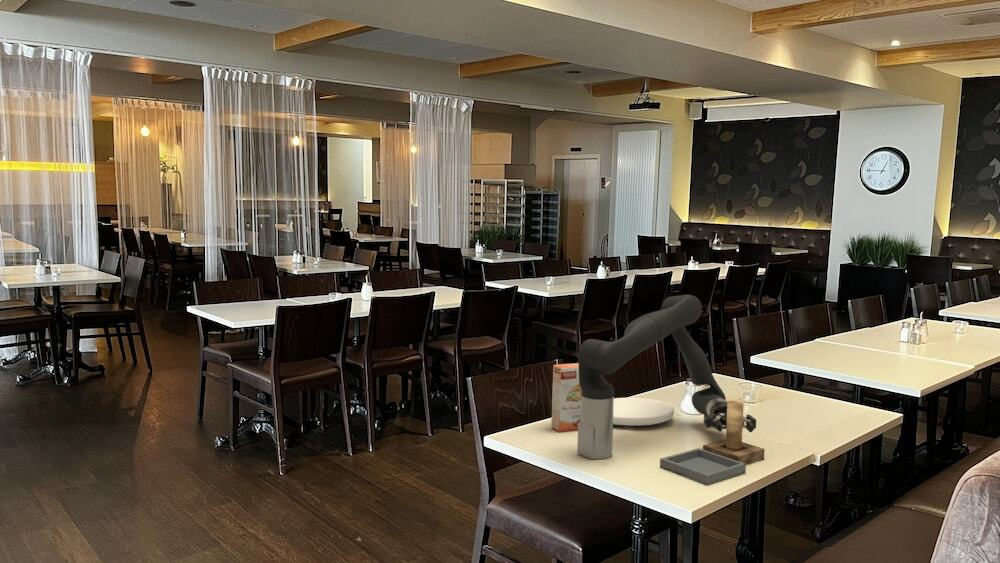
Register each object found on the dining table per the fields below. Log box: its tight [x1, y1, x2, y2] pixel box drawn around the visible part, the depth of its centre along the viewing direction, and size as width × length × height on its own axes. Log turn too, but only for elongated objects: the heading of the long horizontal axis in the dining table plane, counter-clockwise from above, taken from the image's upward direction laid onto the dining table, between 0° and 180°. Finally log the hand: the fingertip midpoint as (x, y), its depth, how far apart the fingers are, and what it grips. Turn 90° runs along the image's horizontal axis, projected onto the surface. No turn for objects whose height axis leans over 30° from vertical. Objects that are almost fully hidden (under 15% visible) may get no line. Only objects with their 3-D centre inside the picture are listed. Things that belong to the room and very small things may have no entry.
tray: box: [659, 447, 747, 486], centre depth 202 cm, size 16×16×2 cm
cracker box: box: [551, 362, 581, 433], centre depth 239 cm, size 14×6×21 cm, turn 114°
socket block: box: [702, 438, 765, 466], centre depth 213 cm, size 12×12×3 cm
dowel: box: [725, 400, 745, 452], centre depth 212 cm, size 4×4×16 cm
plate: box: [613, 397, 675, 427], centre depth 251 cm, size 28×6×27 cm
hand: (736, 428), depth 211 cm, fingers open, 8 cm apart
